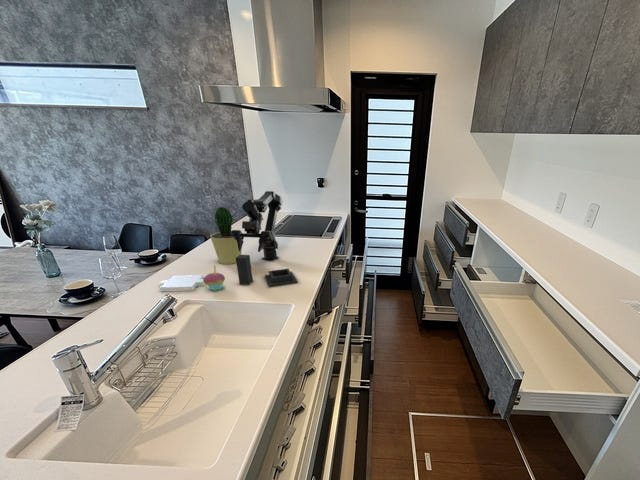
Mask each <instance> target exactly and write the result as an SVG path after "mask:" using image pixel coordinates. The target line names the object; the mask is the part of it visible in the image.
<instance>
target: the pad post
mask: <svg viewBox="0 0 640 480" xmlns="http://www.w3.org/2000/svg"><path fill="white" fill-rule="evenodd" d="M250 257H251V256H250V254H241V255H239V256H237V257H236V263H235V264H236V269H237V277H238V283H239V285H243V286H244V285H246V286H248V285H251V284H252V282H254V278H253V269H252V264H251V258H250Z"/></svg>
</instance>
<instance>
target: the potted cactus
mask: <svg viewBox="0 0 640 480" xmlns="http://www.w3.org/2000/svg"><path fill="white" fill-rule="evenodd" d="M234 220H235V217H233V212H232V211H231V209H228V207H224V206H219V207H217V208H216V210H214V223H215V224H216V226H217V227H216V229H217V230H216V231H217V232H214V233H212V234H210V235H209V237H210V239H211V242H212V245H213V248H214V251H215V254H216V257H217V259H218V262H219V263H220V264H221V265H222V264H223V265H232V264H236V257H237V256H239V255H242V250H241V251H239V250H238V244H237V240H235V239H234V238H233V237H232V236H231V231H232V230H233V227H232V226H233V224H234V223H235V222H234Z"/></svg>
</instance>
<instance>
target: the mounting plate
mask: <svg viewBox="0 0 640 480" xmlns="http://www.w3.org/2000/svg"><path fill="white" fill-rule="evenodd" d="M204 277H205V276H204V275H203V274H198V275H197V274H195V275H173V276H171V278H169V279H164V280H161V281H160V282H159V284H160V286H159V290H160V292H191V291H192V292H193V291H194V290H195V289H196V288H197V287H202V286H204V285H206V284H205V283H204V282H203V279H204Z"/></svg>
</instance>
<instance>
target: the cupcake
mask: <svg viewBox="0 0 640 480" xmlns="http://www.w3.org/2000/svg"><path fill="white" fill-rule="evenodd" d="M203 277H204V279H203V282H204V283H205V284H204V285H206V286H208V288H209V290H210V291H220V290H221V289H223V285H224V283H225V280H226V278H225V276H224V274H222V273H220V272H217V267H216V264H214V265H213V272H211V273H208V274H206V275H205V276H203Z"/></svg>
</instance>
